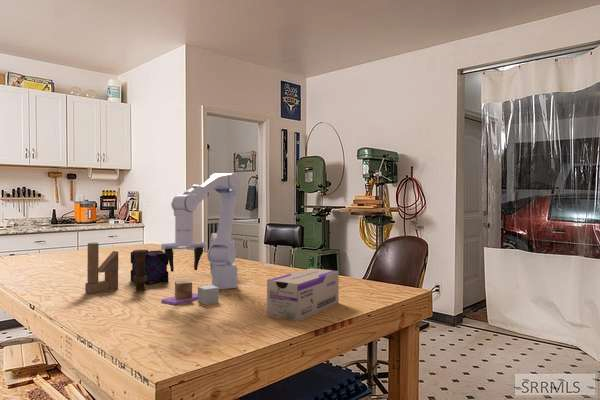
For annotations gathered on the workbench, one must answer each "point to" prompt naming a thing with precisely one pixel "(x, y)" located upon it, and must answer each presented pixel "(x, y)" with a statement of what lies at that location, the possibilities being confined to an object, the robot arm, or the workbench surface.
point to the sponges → (179, 300)
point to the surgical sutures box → (302, 293)
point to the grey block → (208, 294)
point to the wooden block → (107, 266)
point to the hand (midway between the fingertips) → (184, 270)
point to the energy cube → (153, 267)
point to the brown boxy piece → (183, 289)
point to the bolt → (140, 269)
